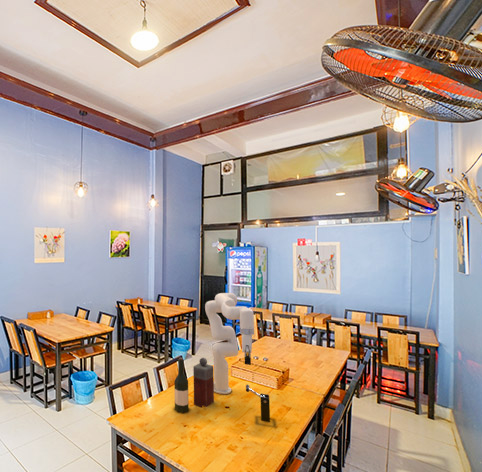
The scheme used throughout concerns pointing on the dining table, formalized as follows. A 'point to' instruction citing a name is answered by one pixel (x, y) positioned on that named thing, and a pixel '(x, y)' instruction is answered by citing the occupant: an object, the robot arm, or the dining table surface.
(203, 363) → the square decanter
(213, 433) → the dining table surface
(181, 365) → the wine bottle
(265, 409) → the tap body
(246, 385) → the faucet lever
